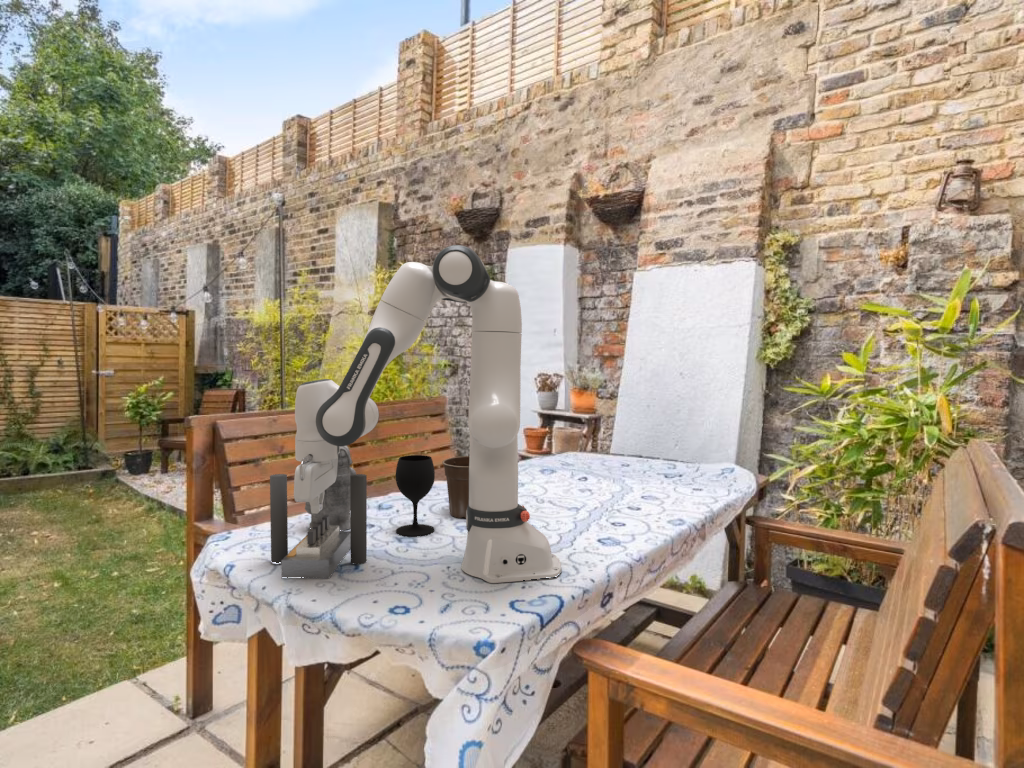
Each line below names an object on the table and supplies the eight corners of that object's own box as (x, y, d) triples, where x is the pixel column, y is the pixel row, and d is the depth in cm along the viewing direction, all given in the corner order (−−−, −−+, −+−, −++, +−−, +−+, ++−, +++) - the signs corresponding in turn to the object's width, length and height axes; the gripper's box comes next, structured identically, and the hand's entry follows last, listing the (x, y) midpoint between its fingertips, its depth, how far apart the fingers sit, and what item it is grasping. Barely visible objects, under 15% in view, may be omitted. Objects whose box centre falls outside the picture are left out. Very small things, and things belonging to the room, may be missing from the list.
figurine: (299, 530, 157) (298, 438, 156) (345, 519, 168) (344, 433, 167) (318, 537, 151) (317, 442, 150) (364, 525, 162) (364, 436, 160)
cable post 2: (368, 558, 136) (368, 474, 135) (364, 564, 132) (364, 477, 131) (352, 558, 136) (352, 474, 135) (348, 564, 132) (348, 477, 131)
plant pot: (462, 525, 164) (462, 468, 163) (432, 512, 176) (432, 459, 175) (507, 515, 174) (507, 461, 173) (475, 504, 186) (475, 454, 185)
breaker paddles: (329, 526, 140) (329, 515, 140) (313, 544, 127) (312, 531, 127) (324, 526, 140) (324, 515, 140) (307, 544, 127) (307, 531, 127)
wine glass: (440, 527, 161) (440, 455, 160) (425, 538, 151) (425, 462, 150) (406, 524, 164) (406, 453, 163) (388, 535, 154) (388, 460, 153)
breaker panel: (351, 547, 144) (351, 523, 144) (329, 578, 124) (328, 550, 124) (310, 547, 144) (310, 523, 143) (281, 578, 124) (281, 550, 123)
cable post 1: (290, 559, 135) (289, 474, 134) (284, 564, 132) (283, 477, 131) (274, 559, 135) (273, 473, 134) (268, 564, 132) (267, 477, 131)
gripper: (316, 459, 121) (316, 525, 121) (342, 444, 141) (342, 500, 142) (285, 459, 120) (286, 525, 121) (315, 444, 141) (316, 500, 142)
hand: (316, 511), depth 132 cm, fingers closed
